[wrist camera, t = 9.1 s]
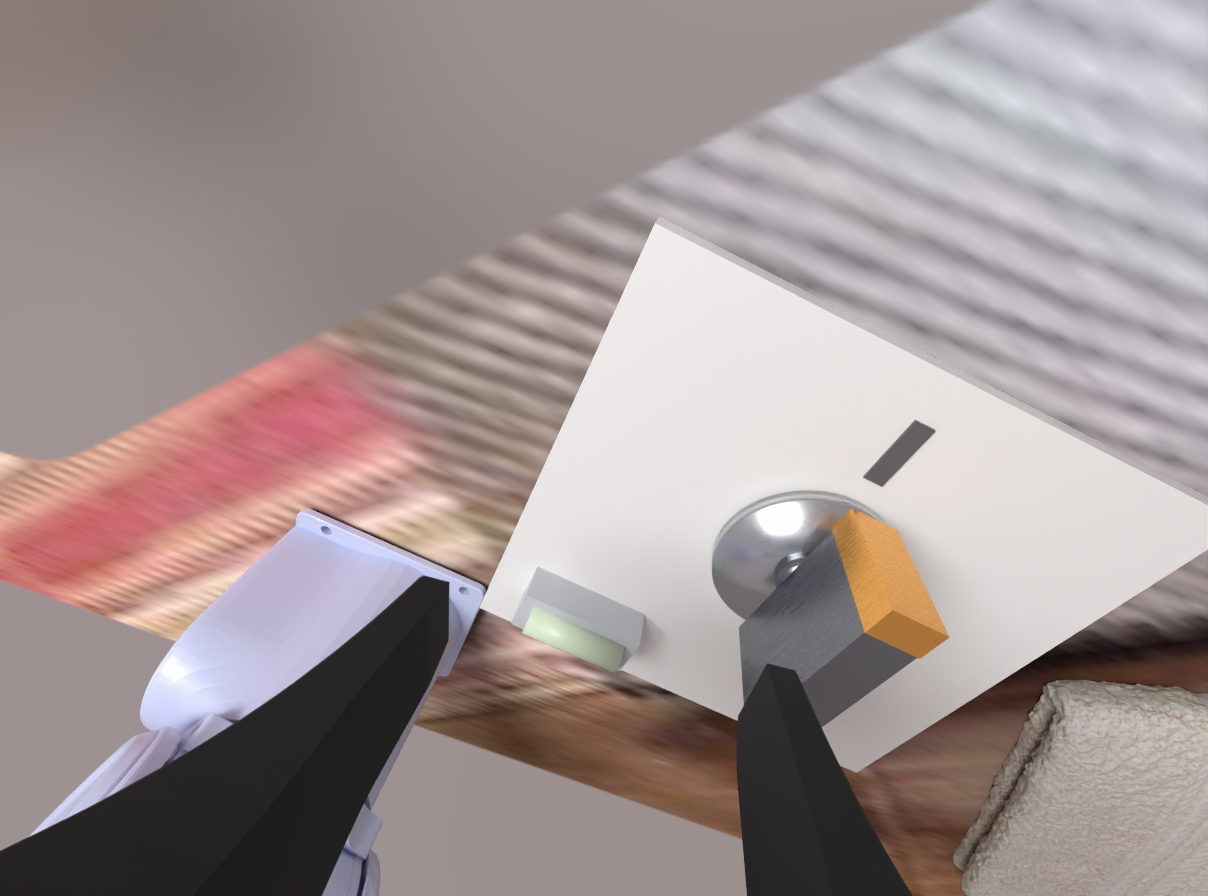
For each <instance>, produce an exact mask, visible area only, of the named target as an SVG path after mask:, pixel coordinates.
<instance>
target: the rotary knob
mask: <svg viewBox="0 0 1208 896" xmlns="http://www.w3.org/2000/svg"><path fill="white" fill-rule="evenodd" d="M712 578H713V582H714V586H715V588H716V590H717V592H718V594H719V596H720V597H721V599H722V600H723V602H724V603H725V604H726V605H727V606H728V607H729V608H730V609H731V610H732V611H733V612H734V613H736V614H737V615H738V616H740V617H741V618H743V619H744V620H745V621H744V622H743V623H742V624H741V625H740V626H739V638H740V654H741V670H742V685H743V701H744V704H745V702H746V701H747V699H748V697H749V695H750V693H751V692H752V690H753V688H754V686H755V684H756V682H757V681H758V679H759V677H760V675H761V673H762V671H763V670H764V668H765V666H766V664H767V663H768V664H772V665H776V666H780V667H784V668H788V669H791V670H795V671H796V673H797V674H798V676H799V679H800V681H801V683H802V685H803V688H804V690H805V692H806V694H807V697H808V699H809V701H810V703H811V705H812V708H813V710H814V712H815V714H816V716H817V719H818V721H819V723H820V725H821V727H823V726H825V725H826V724H827V723H829V722H830V721H831V720H833V719H834V718H836V717H837V716H838V715H840V714H841V713H842V712H844V711H845V710H847V709H848V708H849V707H851V706H852V705H853V704H855V703H856V702H858V701H859V700H860V699H862V698H863V697H864V696H866V695H867V694H869V693H870V692H871V691H873V690H874V689H875V688H877V687H878V686H879V685H881V684H882V683H884V682H885V681H886V680H888V679H889V678H890V677H892V676H893V675H895V674H896V673H897V672H899V671H900V670H901V669H903V668H904V667H906V666H907V665H908V664H910V663H911V662H912V661H914V660H915V659H917V658H919V659H921V658H922V657H923V656H925V655H926V654H928V653H929V652H930V651H932V650H933V649H934V648H936V647H937V646H939V645H940V644H941V643H943V642H944V641H945V640H947V639H948V638H950V637H949V635H948V633H947V631H946V629H945V627H944V624H943V622H942V620H941V618H940V616H939V614H938V612H937V610H936V608H935V606H934V604H933V602H932V600H931V598H930V596H929V594H928V592H927V590H926V587H925V585H924V583H923V581H922V579H921V577H920V575H919V573H918V571H917V569H916V567H915V565H914V563H913V561H912V559H911V557H910V555H909V553H908V550H907V548H906V546H905V544H904V542H903V540H902V538H901V536H900V534H899V532H898V530H896V529H894V528H892V527H890V526H888V525H887V524H886V523H885V522H884V521H883V520H882V519H881V517H880V516H879V515H878V514H876V513H875V512H874V511H873V510H871V509H870V508H869V507H867V506H865V505H863V504H862V503H860V502H858V501H856V500H853V499H851V498H849V497H846V496H842V495H839V494H835V493H830V492H824V491H812V490H805V491H791V492H784V493H779V494H775V495H771V496H768V497H765V498H762V499H760V500H758V501H755V502H753V503H751V504H749V505H748V506H746V507H744V508H743V509H741V510H740V511H738V512H737V513H736V514H735V515H734V516H732V517H731V518H730V519H729V520H728V521H727V522H726V524H725V525H724V526H723V527H722V529H721V530H720V532H719V533H718V535H717V538H716V540H715V542H714V546H713V549H712Z"/></svg>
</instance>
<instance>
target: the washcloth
mask: <svg viewBox="0 0 1208 896" xmlns="http://www.w3.org/2000/svg"><path fill="white" fill-rule="evenodd" d="M1046 685H1047V686H1043V694H1042V695H1041V696H1040V700H1039V701H1038V702H1037V703H1036V704H1035V705H1034V711H1031V712H1030V713H1029V720H1028V721H1026V722H1024V725H1023V729H1022V731H1021V735H1020V736H1019V737H1018V742H1017V744H1016V745H1015V746H1012V749H1013V750H1012V751H1011V752H1010V753H1009V755H1008V757H1007V758H1006V759H1005V760H1004V761H1003V763H1002V764H1003V768H1001V769H1000V771H999V772H997V776H996V777H995V781H994V786H993V788H992V789H990V792H989V795H990V797H989V798H988V799H986V801H985V803H984V804H983V805H982V806H981V807H980V810H981V813H980V814H979V816H978V818H977V820H975V821H974V822H973V823H972V824H973V825H972V827H971V828H969V830H968V832H967V833H966V837H965V838H964V839H962V843H961V844H959V846H958V848H957V850H956V851H955V852H954V853H953V858H952V860H953V862H954V864H955V866H956V867H957V868H958V869H960V870H962V871H964V873H963V878H962V879H961V887H962V889H963V891H964V892H965V893H966V894H967V895H968V896H1208V693H1193V692H1189V691H1187V690H1184V689H1183V688H1180V687H1163V686H1159V685H1156V686H1146V685H1142V684H1136V685H1128V684H1124V683H1123V684H1118V683H1115V682H1105V681H1102V682H1094V681H1089V680H1056V681H1053V682H1051V683H1050V682H1048V684H1046Z"/></svg>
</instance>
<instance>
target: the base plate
mask: <svg viewBox="0 0 1208 896" xmlns="http://www.w3.org/2000/svg"><path fill="white" fill-rule="evenodd" d="M805 490H812V491H824V492H830V493H835V494H839V495H842V496H846V497H849V498H851V499H853V500H856V501H858V502H860V503H862V504H863V505H865V506H867V507H869V508H870V509H871V510H873V511H874V512H875V513H876V514H878V515H879V516H880V517H881V519H882V520H883V521H884V522H885V523H886V524H887V525H888V526H890V527H892V528H894V529H896V530H898V532H899V534H900V536H901V538H902V540H903V542H904V544H905V546H906V548H907V550H908V553H909V555H910V557H911V559H912V561H913V563H914V565H915V567H916V569H917V571H918V573H919V575H920V577H921V579H922V581H923V583H924V585H925V587H926V590H927V592H928V594H929V596H930V598H931V600H932V602H933V604H934V606H935V608H936V610H937V612H938V614H939V616H940V618H941V620H942V622H943V624H944V627H945V629H946V631H947V633H948V635H949V637H950V638H948V639H947V640H945V641H944V642H943V643H941V644H940V645H939V646H937V647H936V648H934V649H933V650H932V651H930V652H929V653H928V654H926V655H925V656H923V657H922V658H921V659H919V658H917V659H915V660H914V661H912V662H911V663H910V664H908V665H907V666H906V667H904V668H903V669H901V670H900V671H899V672H897V673H896V674H895V675H893V676H892V677H890V678H889V679H888V680H886V681H885V682H884V683H882V684H881V685H879V686H878V687H877V688H875V689H874V690H873V691H871V692H870V693H869V694H867V695H866V696H864V697H863V698H862V699H860V700H859V701H858V702H856V703H855V704H853V705H852V706H851V707H849V708H848V709H847V710H845V711H844V712H842V713H841V714H840V715H838V716H837V717H836V718H834V719H833V720H831V721H830V722H829V723H827V724H826V725H825V726H823V727H822V729H823V731H824V734H825V736H826V738H827V740H828V742H829V744H830V746H831V748H832V750H833V752H834V754H835V756H836V759H837V760H838V762H839V764H840V766H842V767H845V768H847V769H849V770H851V771H854V772H856V773H857V772H859V771H860V770H862V769H863V768H865V767H866V766H868V765H870V764H871V763H873V762H874V761H876V760H877V759H879V758H881V757H882V756H884V755H885V754H887V753H888V752H890V751H892V750H893V749H895V748H896V747H898V746H899V745H901V744H903V743H904V742H906V741H907V740H909V739H910V738H912V737H914V736H915V735H917V734H918V733H920V732H921V731H923V730H925V729H926V728H928V727H929V726H931V725H932V724H934V723H936V722H937V721H939V720H940V719H942V718H943V717H945V716H947V715H948V714H950V713H951V712H953V711H954V710H956V709H958V708H959V707H961V706H962V705H964V704H965V703H967V702H969V701H970V700H972V699H973V698H975V697H976V696H978V695H980V694H981V693H983V692H984V691H986V690H987V689H989V688H991V687H992V686H994V685H995V684H997V683H998V682H1000V681H1002V680H1003V679H1005V678H1006V677H1008V676H1009V675H1011V674H1013V673H1014V672H1016V671H1017V670H1019V669H1020V668H1022V667H1024V666H1025V665H1027V664H1028V663H1030V662H1031V661H1033V660H1035V659H1036V658H1038V657H1039V656H1041V655H1043V654H1044V653H1046V652H1047V651H1049V650H1050V649H1052V648H1054V647H1055V646H1057V645H1058V644H1060V643H1061V642H1063V641H1065V640H1066V639H1068V638H1069V637H1071V636H1072V635H1074V634H1076V633H1077V632H1079V631H1080V630H1082V629H1083V628H1085V627H1087V626H1088V625H1090V624H1091V623H1093V622H1094V621H1096V620H1098V619H1099V618H1101V617H1102V616H1104V615H1105V614H1107V613H1109V612H1110V611H1112V610H1113V609H1115V608H1116V607H1118V606H1120V605H1121V604H1123V603H1124V602H1126V601H1127V600H1129V599H1131V598H1132V597H1134V596H1135V595H1137V594H1138V593H1140V592H1142V591H1143V590H1145V589H1146V588H1148V587H1149V586H1151V585H1153V584H1154V583H1156V582H1157V581H1159V580H1160V579H1162V578H1164V577H1165V576H1167V575H1168V574H1170V573H1171V572H1173V571H1175V570H1176V569H1178V568H1179V567H1181V566H1182V565H1184V564H1186V563H1187V562H1189V561H1190V560H1192V559H1193V558H1195V557H1197V556H1198V555H1200V554H1201V553H1203V552H1204V551H1206V550H1208V497H1207V496H1205V495H1203V494H1201V493H1199V492H1197V491H1195V490H1193V489H1191V488H1189V487H1187V486H1185V485H1183V484H1181V483H1180V482H1178V481H1176V480H1174V479H1172V478H1170V477H1168V476H1166V475H1164V474H1162V473H1160V472H1158V471H1156V470H1154V469H1152V468H1150V467H1148V466H1146V465H1144V464H1142V463H1140V462H1139V461H1137V460H1135V459H1133V458H1131V457H1129V456H1127V455H1125V454H1123V453H1121V452H1119V451H1117V450H1115V449H1113V448H1111V447H1109V446H1107V445H1105V444H1103V443H1101V442H1099V441H1097V440H1096V439H1094V438H1092V437H1090V436H1088V435H1086V434H1084V433H1082V432H1080V431H1078V430H1076V429H1074V428H1072V427H1070V426H1068V425H1066V424H1064V423H1062V422H1060V421H1058V420H1056V419H1055V418H1053V417H1051V416H1049V415H1047V414H1045V413H1043V412H1041V411H1039V410H1037V409H1035V408H1033V407H1031V406H1029V405H1027V404H1025V403H1023V402H1021V401H1019V400H1017V399H1015V398H1013V397H1012V396H1010V395H1008V394H1006V393H1004V392H1002V391H1000V390H998V389H996V388H994V387H992V386H990V385H988V384H986V383H984V382H982V381H980V380H978V379H976V378H974V377H972V376H970V375H969V374H967V373H965V372H963V371H961V370H959V369H957V368H955V367H953V366H951V365H949V364H947V363H945V362H943V361H941V360H939V359H937V358H935V357H933V356H931V355H929V354H928V353H926V352H924V351H922V350H920V349H918V348H916V347H914V346H912V345H910V344H908V343H906V342H904V341H902V340H900V339H898V338H896V337H894V336H892V335H890V334H888V333H886V332H885V331H883V330H881V329H879V328H877V327H875V326H873V325H871V324H869V323H867V322H865V321H863V320H861V319H859V318H857V317H855V316H853V315H851V314H849V313H847V312H845V311H844V310H842V309H840V308H838V307H836V306H834V305H832V304H830V303H828V302H826V301H824V300H822V299H820V298H818V297H816V296H814V295H812V294H810V293H808V292H806V291H804V290H802V289H801V288H799V287H797V286H795V285H793V284H791V283H789V282H787V281H785V280H783V279H781V278H779V277H777V276H775V275H773V274H771V273H769V272H767V271H765V270H763V269H761V268H759V267H758V266H756V265H754V264H752V263H750V262H748V261H746V260H744V259H742V258H740V257H738V256H736V255H734V254H732V253H730V252H728V251H726V250H724V249H722V248H720V247H718V246H717V245H715V244H713V243H711V242H709V241H707V240H705V239H703V238H701V237H699V236H697V235H695V234H693V233H691V232H689V231H687V230H685V229H683V228H681V227H679V226H677V225H675V224H674V223H672V222H670V221H668V220H666V219H664V218H662V217H660V216H659V218H658V219H657V221H656V223H655V225H654V227H653V229H652V231H651V233H650V235H649V238H648V240H647V242H646V244H645V246H644V249H643V251H642V253H641V255H640V257H639V260H638V262H637V264H636V266H635V268H634V270H633V273H632V275H631V277H630V279H629V281H628V284H627V286H626V288H625V290H624V292H623V295H622V297H621V299H620V301H619V303H618V305H617V308H616V310H615V312H614V314H613V316H612V319H611V321H610V323H609V325H608V327H607V330H606V332H605V334H604V336H603V338H602V340H601V343H600V345H599V347H598V349H597V351H596V354H595V356H594V358H593V360H592V362H591V364H590V367H589V369H588V371H587V373H586V375H585V378H584V380H583V382H582V384H581V386H580V389H579V391H578V393H577V395H576V397H575V399H574V402H573V404H572V406H571V408H570V410H569V413H568V415H567V417H566V419H565V421H564V424H563V426H562V428H561V430H560V432H559V434H558V437H557V439H556V441H555V443H554V445H553V448H552V450H551V452H550V454H549V456H548V459H547V461H546V463H545V465H544V467H543V469H542V472H541V474H540V476H539V478H538V480H537V483H536V485H535V487H534V489H533V491H532V493H531V496H530V498H529V500H528V502H527V504H526V507H525V509H524V511H523V513H522V515H521V518H520V520H519V522H518V524H517V526H516V528H515V531H514V533H513V535H512V537H511V539H510V542H509V544H508V546H507V548H506V550H505V553H504V555H503V557H502V559H501V561H500V563H499V566H498V568H497V570H496V572H495V574H494V577H493V579H492V581H491V583H490V585H489V588H488V590H487V592H486V594H485V596H484V598H483V601H482V603H481V605H480V607H479V608H481V609H483V610H485V611H488V612H490V613H492V614H494V615H497V616H499V617H501V618H504V619H506V620H508V621H511V624H513V625H515V626H517V627H520V628H522V629H523V630H522V633H523V634H525V635H527V636H529V637H532V638H534V639H536V640H539V641H541V642H543V643H545V644H548V645H550V646H552V647H555V648H557V649H559V650H561V651H564V652H566V653H568V654H571V655H573V656H575V657H578V658H580V659H582V660H584V661H587V662H589V663H591V664H594V665H596V666H598V667H600V668H603V669H605V670H607V671H610V672H612V673H614V672H615V671H616V670H618V671H620V670H623V671H625V672H627V673H629V674H632V675H634V676H636V677H639V678H641V679H643V680H645V681H648V682H650V683H652V684H655V685H657V686H659V687H662V688H664V689H666V690H668V691H671V692H673V693H675V694H678V695H680V696H682V697H684V698H687V699H689V700H691V701H694V702H696V703H698V704H700V705H703V706H705V707H707V708H710V709H712V710H714V711H716V712H719V713H721V714H723V715H726V716H728V717H730V718H732V719H735V720H737V721H738V715H739V713H740V712H741V710H742V708H743V706H744V701H743V685H742V670H741V654H740V638H739V626H740V625H741V624H742V623H743V622H744V621H745V620H744V619H743V618H741V617H740V616H738V615H737V614H736V613H734V612H733V611H732V610H731V609H730V608H729V607H728V606H727V605H726V604H725V603H724V602H723V600H722V599H721V597H720V596H719V594H718V592H717V590H716V588H715V586H714V582H713V578H712V549H713V546H714V542H715V540H716V538H717V535H718V533H719V532H720V530H721V529H722V527H723V526H724V525H725V524H726V522H727V521H728V520H729V519H730V518H731V517H732V516H734V515H735V514H736V513H737V512H738V511H740V510H741V509H743V508H744V507H746V506H748V505H749V504H751V503H753V502H755V501H758V500H760V499H762V498H765V497H768V496H771V495H775V494H779V493H784V492H791V491H805Z"/></svg>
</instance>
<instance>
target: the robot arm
mask: <svg viewBox="0 0 1208 896" xmlns="http://www.w3.org/2000/svg"><path fill="white" fill-rule="evenodd" d="M485 594H486V589H485V587H484V586H483V585H481V584H480V583H477V582H475V581H473V580H471V579H468V578H466V577H464V576H461V575H459V574H457V573H455V572H452V571H450V570H448V569H446V568H443V567H441V566H439V565H437V564H434V563H432V562H430V561H427V560H425V559H423V558H421V557H418V556H416V555H414V554H412V553H409V552H407V551H405V550H402V549H400V548H398V547H396V546H393V545H391V544H389V543H387V542H384V541H382V540H380V539H378V538H375V537H373V536H371V535H368V534H366V533H364V532H362V531H359V530H357V529H355V528H353V527H350V526H348V525H346V524H344V523H341V522H339V521H337V520H334V519H332V518H330V517H328V516H325V515H323V514H321V513H319V512H316V511H314V510H311V509H303V510H302V511H301V512H299V513H298V514H297V517H296V526H294V527H293V528H292V529H291V530H290V531H289V532H288V533H287V534H286V535H285V536H284V537H283V538H282V539H281V540H280V541H278V542H277V543H276V544H275V545H274V546H273V547H272V548H271V549H270V550H269V551H268V552H267V553H266V554H265V555H264V556H262V557H261V558H260V559H259V560H258V561H257V562H256V563H255V564H254V565H253V566H252V567H251V568H250V569H249V570H248V571H246V572H245V573H244V574H243V575H242V576H241V577H240V578H239V579H238V580H237V581H236V582H235V583H234V584H233V585H232V586H230V587H229V588H228V589H227V590H226V591H225V592H224V593H223V594H222V595H221V596H220V597H219V598H218V599H217V600H216V601H214V602H213V603H212V604H211V605H210V606H209V607H208V608H207V609H206V610H205V611H204V612H203V613H202V614H201V615H200V616H199V617H198V618H197V619H196V620H195V621H194V622H193V623H192V624H191V625H190V626H189V627H188V628H187V630H186V631H185V632H184V633H183V634H182V635H181V637H180V638H179V639H178V640H177V642H176V643H175V644H174V645H173V647H172V648H171V649H170V651H169V652H168V653H167V655H166V656H165V658H164V659H163V661H162V662H161V664H160V665H159V667H158V668H157V670H156V671H155V673H154V675H153V677H152V679H151V681H150V682H149V685H148V687H147V689H146V692H145V694H144V697H143V701H142V705H141V710H140V718H141V721H142V724H144V726H145V727H146V728H148V729H149V730H151V732H147V733H142V734H138V735H136V736H134V737H133V738H132V739H130V740H129V741H128V742H126V743H125V744H124V745H123V746H121V747H120V748H119V749H118V750H117V751H116V752H115V753H113V754H112V755H111V756H110V757H109V758H108V759H107V760H106V761H105V762H104V763H103V764H102V765H101V766H99V767H98V768H97V769H96V770H95V771H94V772H93V773H92V774H91V775H90V776H89V777H88V778H87V779H86V780H85V781H84V782H83V783H82V784H81V785H80V786H79V787H78V788H77V789H76V790H75V791H74V792H72V794H70V795H69V796H68V797H67V798H66V799H65V800H64V801H63V802H62V803H61V805H59V806H58V807H57V808H56V809H55V810H54V811H53V812H52V813H51V814H50V815H49V816H48V817H47V818H46V819H45V820H44V821H43V822H42V824H40V826H38V828H36V830H35V831H34V832H33V833H32V834H31V835H30V836H29V837H28V838H26V839H24V840H21V841H20V842H18V843H15V844H13V845H11V846H9V847H7V848H5V849H3V850H1V851H0V896H379V887H380V864H379V860H378V858H377V855H376V854H375V853H374V852H373V851H372V850H371V847H372V845H373V843H374V840H375V838H376V836H377V834H378V832H379V830H380V828H381V826H382V823H383V822H382V820H381V819H380V818H378V817H377V816H375V815H374V814H373V813H372V812H371V809H372V807H373V805H374V803H375V801H376V799H377V796H378V795H379V793H380V790H381V789H382V787H383V785H384V783H385V780H386V779H387V777H388V775H389V773H390V771H391V769H392V767H393V765H394V763H395V761H396V758H397V757H398V755H399V753H400V751H401V749H402V747H403V745H404V743H405V741H406V739H407V737H408V735H409V733H410V731H411V729H412V727H413V725H414V723H415V721H416V719H417V717H418V715H419V713H420V711H421V709H422V707H423V705H424V703H425V701H426V699H427V697H428V695H429V693H430V691H431V689H432V687H433V685H434V683H435V681H436V679H437V677H438V676H441V677H445V676H448V675H449V674H450V672H451V670H452V667H453V665H454V663H455V661H456V659H457V656H458V654H459V652H460V650H461V648H462V646H463V643H464V641H465V639H466V637H467V635H468V632H469V630H470V628H471V626H472V624H473V622H474V619H475V617H476V615H477V613H478V611H479V607H480V605H481V603H482V601H483V598H484V596H485ZM737 779H738V791H739V804H740V816H741V828H742V840H743V852H744V863H745V875H746V887H747V896H913V895H912V894H911V892H910V891H909V889H908V887H907V886H906V884H905V883H904V881H903V879H902V878H901V876H900V874H899V873H898V871H897V869H896V868H895V866H894V864H893V862H892V861H891V859H890V857H889V856H888V854H887V852H886V850H885V849H884V847H883V845H882V843H881V842H880V840H879V838H878V836H877V834H876V833H875V831H874V829H873V827H872V825H871V824H870V822H869V820H868V818H867V817H866V815H865V813H864V811H863V809H862V807H861V805H860V803H859V802H858V800H857V798H856V796H855V794H854V792H853V790H852V788H851V786H850V784H849V782H848V780H847V778H846V776H845V774H844V772H843V770H842V768H841V766H840V764H839V762H838V760H837V759H836V756H835V754H834V752H833V750H832V748H831V746H830V744H829V742H828V740H827V738H826V736H825V734H824V731H823V729H822V727H821V725H820V723H819V721H818V719H817V716H816V714H815V712H814V710H813V708H812V705H811V703H810V701H809V699H808V697H807V694H806V692H805V690H804V688H803V685H802V683H801V681H800V679H799V676H798V674H797V673H796V671H795V670H791V669H788V668H784V667H780V666H776V665H772V664H768V663H767V664H766V666H765V668H764V670H763V671H762V673H761V675H760V677H759V679H758V681H757V682H756V684H755V686H754V688H753V690H752V692H751V693H750V695H749V697H748V699H747V701H746V702H745V704H744V706H743V708H742V710H741V712H740V713H739V715H738V730H737Z"/></svg>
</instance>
